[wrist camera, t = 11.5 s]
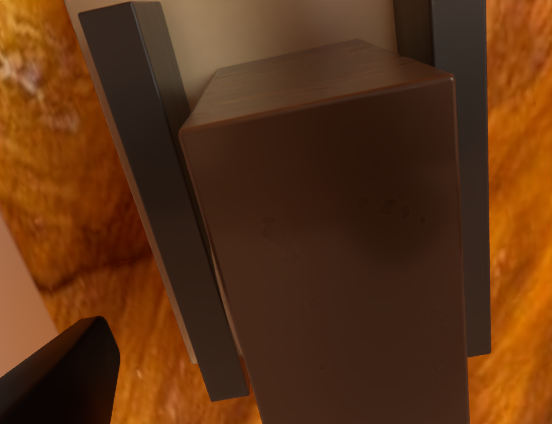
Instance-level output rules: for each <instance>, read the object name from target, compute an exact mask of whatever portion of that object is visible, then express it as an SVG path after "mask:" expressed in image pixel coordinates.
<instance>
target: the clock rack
mask: <svg viewBox="0 0 552 424" xmlns="http://www.w3.org/2000/svg"><path fill="white" fill-rule="evenodd" d="M64 3H65V6H66V9H67V12H68V14H69V17H70V20H71V23H72V26H73V29H74V31H75V34H76V37H77V40H78V43H79V46H80V48H81V51H82V54H83V57H84V60H85V63H86V65H87V68H88V71H89V74H90V77H91V80H92V82H93V85H94V88H95V91H96V94H97V97H98V99H99V102H100V105H101V108H102V111H103V114H104V116H105V119H106V122H107V125H108V128H109V131H110V133H111V136H112V139H113V142H114V145H115V148H116V150H117V153H118V156H119V159H120V162H121V165H122V167H123V170H124V173H125V176H126V179H127V182H128V184H129V187H130V190H131V193H132V196H133V199H134V201H135V204H136V207H137V210H138V213H139V216H140V218H141V221H142V224H143V227H144V230H145V233H146V235H147V238H148V241H149V244H150V247H151V250H152V252H153V255H154V258H155V261H156V264H157V267H158V269H159V272H160V275H161V278H162V281H163V284H164V286H165V289H166V292H167V295H168V298H169V301H170V303H171V306H172V309H173V312H174V315H175V318H176V320H177V323H178V326H179V329H180V332H181V335H182V337H183V340H184V343H185V346H186V349H187V352H188V355H189V357H190V360H191V363H192V364H197V363H198V365H199V368H200V371H201V374H202V377H203V379H204V382H205V385H206V388H207V391H208V394H209V397H210V400H211V401H212V402H214V401H220V400H226V399H232V398H237V397H243V396H248V395H249V393H250V379H249V376H248V372H247V369H246V365H245V362H244V359H243V356H242V354H241V352H240V350H239V348H238V346H237V343H236V341H235V338H234V336H233V333H232V330H231V327H230V324H229V321H228V318H227V315H226V311H225V308H224V304H223V301H222V297H221V293H220V289H219V285H218V281H217V276H216V272H215V267H214V262H213V258H212V252H211V247H210V243H209V239H208V236H207V232H206V229H205V226H204V222H203V219H202V215H201V212H200V208H199V205H198V202H197V198H196V195H195V191H194V188H193V185H192V181H191V178H190V174H189V171H188V168H187V164H186V161H185V157H184V154H183V151H182V147H181V144H180V140H179V137H178V134H179V130H180V128H181V127H182V125H183V124H184V122H185V121H186V119H187V118H188V116H189V114H190V113H191V111H192V110H193V108H194V107H195V105H196V104H197V102H198V100H199V99H200V97H201V96H202V94H203V93H204V91H205V90H206V88H207V87H208V85H209V83H210V82H211V80H212V79H213V77H214V76H215V74H216V73H217V71H218V69H220V68H223V67H228V66H232V65H237V64H242V63H246V62H251V61H256V60H260V59H265V58H270V57H274V56H279V55H284V54H288V53H293V52H298V51H302V50H307V49H312V48H316V47H321V46H326V45H330V44H335V43H340V42H345V41H349V40H354V39H360V40H363V41H366V42H368V43H371V44H374V45H376V46H379V47H382V48H384V49H387V50H390V51H392V52H395V53H398V54H400V55H403V56H406V57H408V58H411V59H414V60H416V61H419V62H422V63H424V64H427V65H430V66H432V67H435V68H438V69H440V70H443V71H446V72H448V73H451V74H453V75H454V77H455V84H456V108H457V131H458V155H459V179H460V202H461V226H462V250H463V273H464V297H465V321H466V344H467V357H473V356H479V355H485V354H490V353H491V314H490V246H489V178H488V109H487V41H486V0H64Z"/></svg>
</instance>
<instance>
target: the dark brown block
mask: <svg viewBox="0 0 552 424" xmlns="http://www.w3.org/2000/svg"><path fill="white" fill-rule="evenodd" d="M178 137H179V140H180V144H181V147H182V151H183V154H184V157H185V161H186V164H187V168H188V171H189V174H190V178H191V181H192V185H193V188H194V191H195V195H196V198H197V202H198V205H199V208H200V212H201V215H202V219H203V222H204V226H205V229H206V232H207V236H208V239H209V243H210V247H211V252H212V258H213V262H214V267H215V272H216V276H217V281H218V285H219V289H220V293H221V297H222V301H223V304H224V308H225V311H226V315H227V318H228V321H229V324H230V327H231V330H232V333H233V336H234V338H235V341H236V343H237V346H238V348H239V350H240V352H241V354H242V356H243V359H244V362H245V365H246V369H247V372H248V376H249V379H250V382H251V386H252V389H253V393H254V396H255V399H256V403H257V406H258V410H259V413H260V416H261V420H262V423H263V424H470V416H469V392H468V368H467V344H466V321H465V297H464V273H463V250H462V226H461V202H460V179H459V155H458V131H457V108H456V84H455V77H454V75H453V74H451V73H448V72H446V71H443V70H440V69H438V68H435V67H432V66H430V65H427V64H424V63H422V62H419V61H416V60H414V59H411V58H408V57H406V56H403V55H400V54H398V53H395V52H392V51H390V50H387V49H384V48H382V47H379V46H376V45H374V44H371V43H368V42H366V41H363V40H360V39H354V40H349V41H345V42H340V43H335V44H330V45H326V46H321V47H316V48H312V49H307V50H302V51H298V52H293V53H288V54H284V55H279V56H274V57H270V58H265V59H260V60H256V61H251V62H246V63H242V64H237V65H232V66H228V67H223V68H220V69H218V71H217V73H216V74H215V76H214V77H213V79H212V80H211V82H210V83H209V85H208V87H207V88H206V90H205V91H204V93H203V94H202V96H201V97H200V99H199V100H198V102H197V104H196V105H195V107H194V108H193V110H192V111H191V113H190V114H189V116H188V118H187V119H186V121H185V122H184V124H183V125H182V127H181V128H180V130H179V134H178Z"/></svg>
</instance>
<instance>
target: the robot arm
mask: <svg viewBox="0 0 552 424" xmlns="http://www.w3.org/2000/svg"><path fill="white" fill-rule="evenodd" d="M119 366H120V352H119V348H118V346H117V344H116V341H115V339H114V337H113V334H112V332H111V329H110V327H109V325H108V323H107V321H106V319H105V318H104V317H102V316H95V317H89V318H84V319H81V320H79V321H77V322H76V323H75V324H73V325H72V326H70V327H69V328H68V329H66V330H65V331H64V332H62V333H61V334H60V335H58V336H57V337H55V338H54V339H53V340H51V341H50V342H49V343H47V344H46V345H45V346H43V347H42V348H40V349H39V350H38V351H36V352H35V353H34V354H32V355H31V356H30V357H28V358H27V359H25V360H24V361H23V362H21V363H20V364H19V365H17V366H16V367H15V368H13V369H12V370H10V371H9V372H8V373H6V374H5V375H4V376H2V377H1V378H0V424H110V422H111V416H112V410H113V403H114V397H115V391H116V385H117V379H118V372H119Z"/></svg>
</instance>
